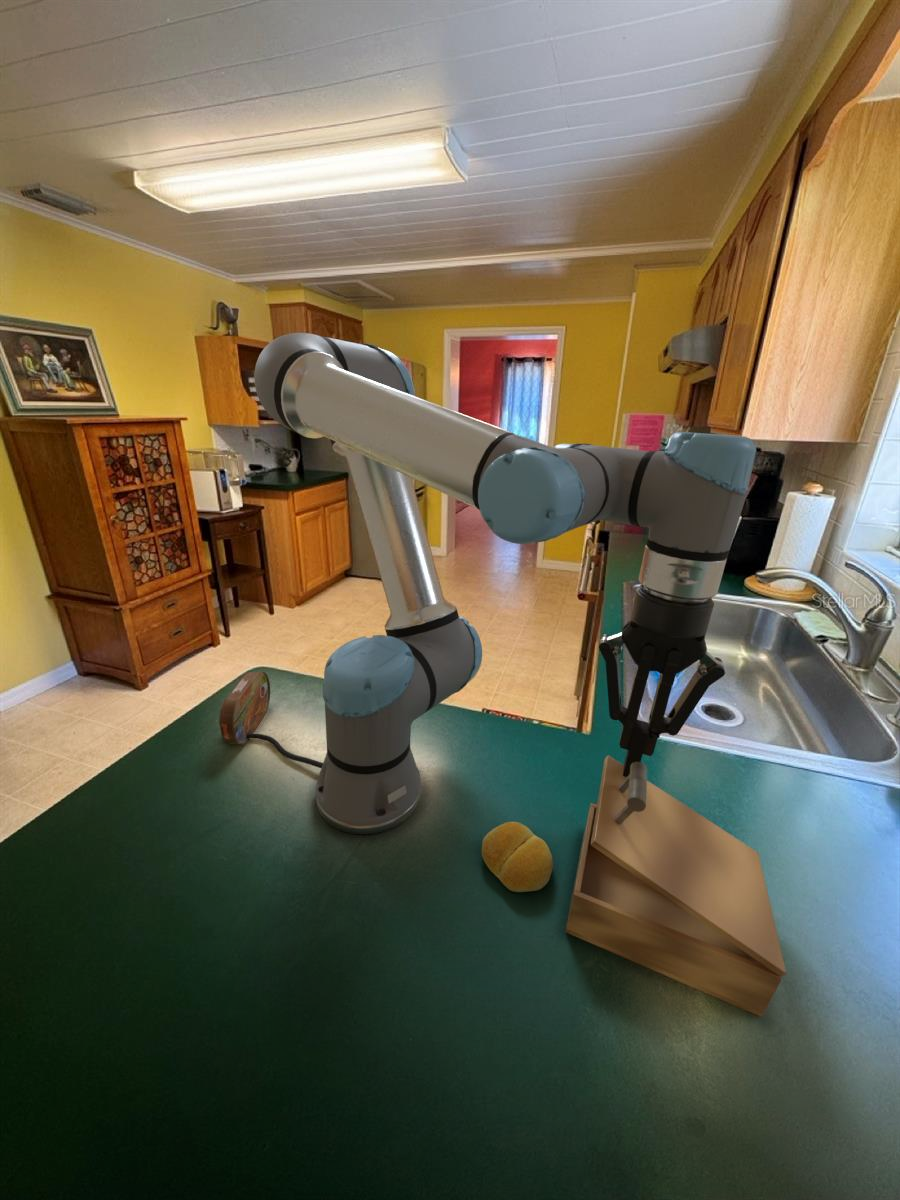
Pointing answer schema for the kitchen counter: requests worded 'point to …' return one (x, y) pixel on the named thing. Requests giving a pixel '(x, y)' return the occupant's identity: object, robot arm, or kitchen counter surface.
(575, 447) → the robot arm
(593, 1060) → the kitchen counter surface
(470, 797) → the kitchen counter surface
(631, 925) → the bread box
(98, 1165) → the kitchen counter surface
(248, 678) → the tin
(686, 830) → the bread box lid
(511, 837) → the bread roll
